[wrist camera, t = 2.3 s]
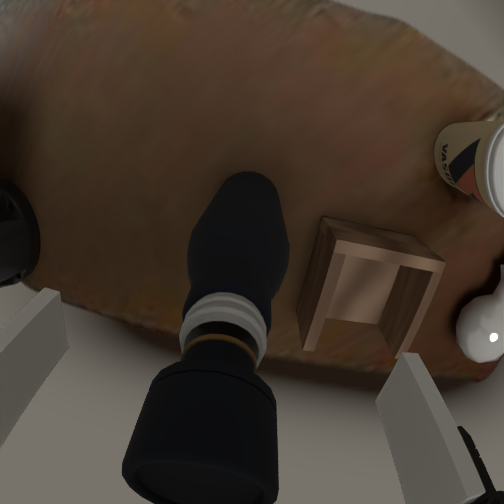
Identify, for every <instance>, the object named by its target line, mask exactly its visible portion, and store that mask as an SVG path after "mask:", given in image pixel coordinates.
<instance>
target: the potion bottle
mask: <svg viewBox="0 0 504 504" xmlns="http://www.w3.org/2000/svg"><path fill="white" fill-rule="evenodd" d="M500 274H501V281H500V283H499V284H498V286H497V288H496V290H495V291H494V293H493V294H492V295H482V296H475V297H474V298H473V299H472V300H471V301H470V302H469V303H467V304H466V305H465V306H464V307H463V308H462V309H461V312H460V314H459V316H458V319H457V321H456V323H455V326H456V343H457V344H458V346H459V348H460V349H461V351H462V352H463V354H464V355H465V357H466V358H469V359H471V360H474V361H476V362H478V363H479V362H489V361H496V360H497V359H498V358H499V357H500V356H501V355H502V354H504V264H501V266H500Z"/></svg>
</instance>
